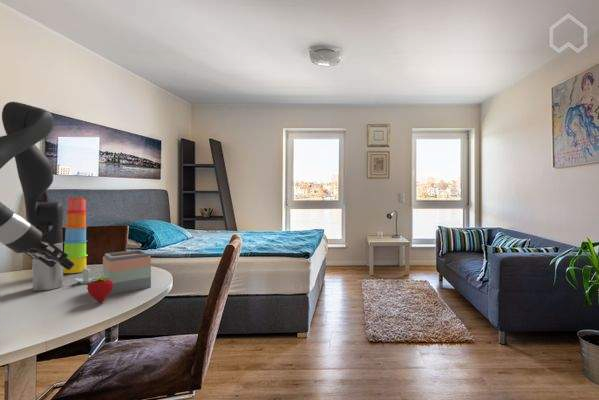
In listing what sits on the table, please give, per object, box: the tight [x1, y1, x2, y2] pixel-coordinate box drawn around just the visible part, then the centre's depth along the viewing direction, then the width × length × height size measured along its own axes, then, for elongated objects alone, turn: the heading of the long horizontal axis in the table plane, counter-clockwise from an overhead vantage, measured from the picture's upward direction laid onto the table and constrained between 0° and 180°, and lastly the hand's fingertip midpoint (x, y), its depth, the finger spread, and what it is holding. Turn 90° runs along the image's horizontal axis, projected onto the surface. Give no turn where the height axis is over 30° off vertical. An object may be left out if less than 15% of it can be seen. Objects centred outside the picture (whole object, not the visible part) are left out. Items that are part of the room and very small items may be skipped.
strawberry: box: [86, 271, 113, 303], centre depth 105 cm, size 6×8×10 cm
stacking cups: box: [63, 197, 89, 274], centre depth 147 cm, size 10×10×35 cm
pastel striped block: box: [102, 249, 152, 295], centre depth 122 cm, size 14×12×13 cm
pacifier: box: [74, 267, 98, 285], centre depth 129 cm, size 7×6×6 cm
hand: (62, 265), depth 95 cm, fingers open, 8 cm apart
